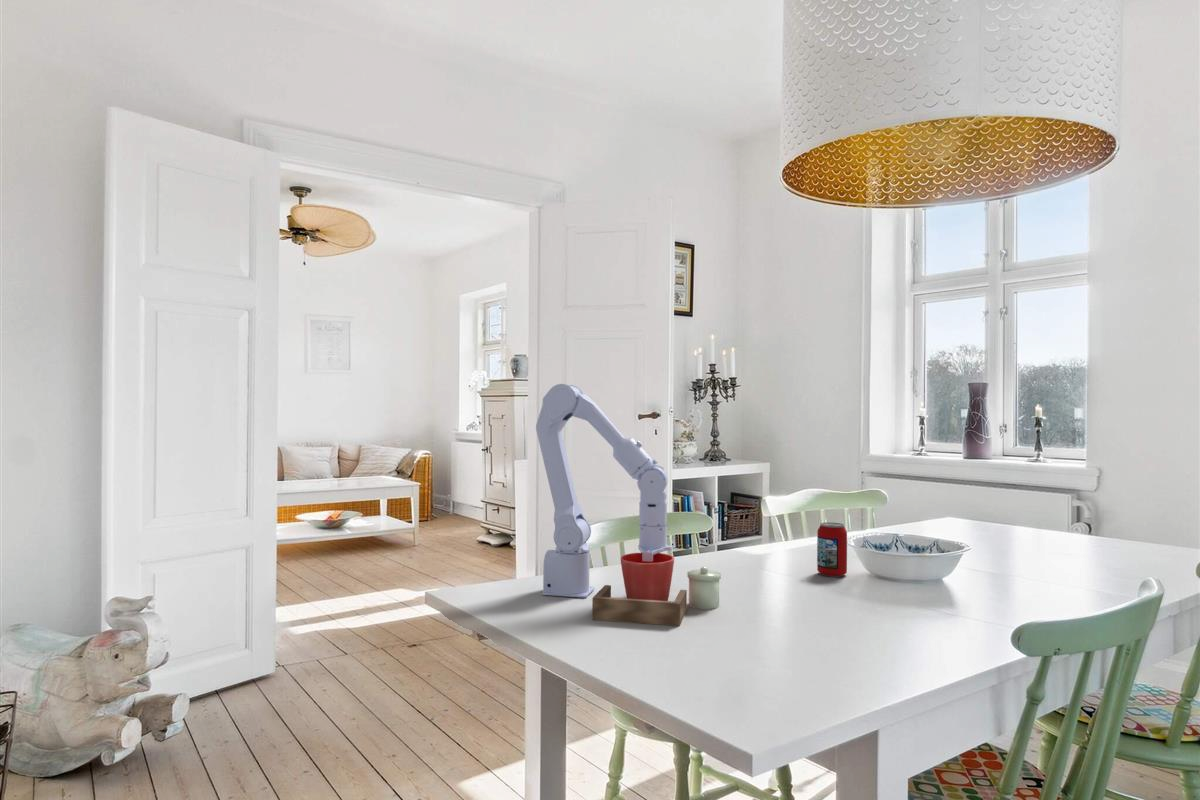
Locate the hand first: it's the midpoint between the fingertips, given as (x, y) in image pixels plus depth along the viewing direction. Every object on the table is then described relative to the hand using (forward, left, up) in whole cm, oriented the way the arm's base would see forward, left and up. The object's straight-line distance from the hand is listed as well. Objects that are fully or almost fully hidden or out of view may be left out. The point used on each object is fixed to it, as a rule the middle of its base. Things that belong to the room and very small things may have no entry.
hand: (652, 590), depth 157 cm
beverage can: (+38, +32, -2) cm, 50 cm away
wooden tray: (0, -14, -1) cm, 14 cm away
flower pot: (0, -8, -2) cm, 8 cm away
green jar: (+11, -4, -2) cm, 12 cm away
